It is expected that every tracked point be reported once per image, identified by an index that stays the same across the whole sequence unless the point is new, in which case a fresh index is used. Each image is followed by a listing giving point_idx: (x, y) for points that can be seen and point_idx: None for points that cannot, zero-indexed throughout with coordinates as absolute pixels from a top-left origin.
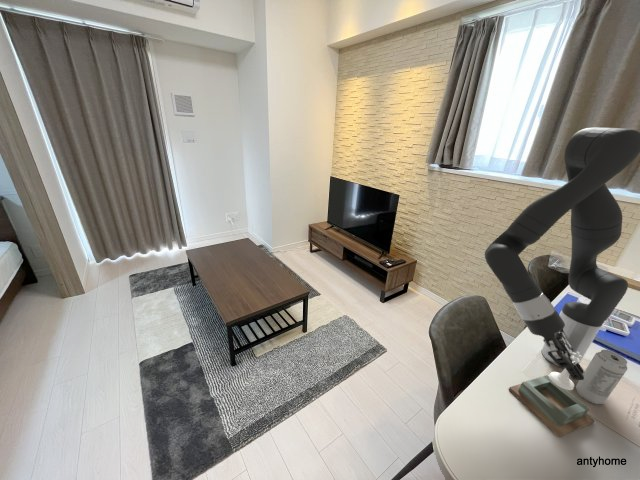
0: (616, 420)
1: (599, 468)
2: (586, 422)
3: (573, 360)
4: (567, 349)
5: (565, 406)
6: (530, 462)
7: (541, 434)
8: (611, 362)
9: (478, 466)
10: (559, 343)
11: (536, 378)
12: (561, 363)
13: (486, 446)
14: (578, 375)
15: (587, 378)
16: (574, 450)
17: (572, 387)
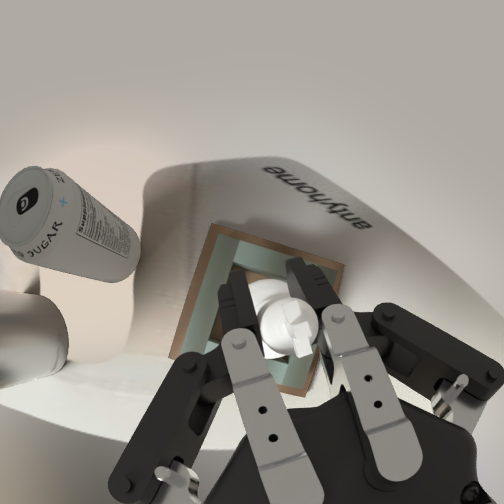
0: (150, 195)
1: (340, 197)
2: (241, 234)
3: (316, 325)
4: (392, 385)
5: (230, 282)
6: (440, 280)
7: (369, 291)
8: (56, 203)
9: (494, 321)
10: (432, 438)
11: None
12: (391, 352)
13: (469, 335)
14: (325, 276)
15: (108, 263)
16: (344, 236)
17: (282, 281)
